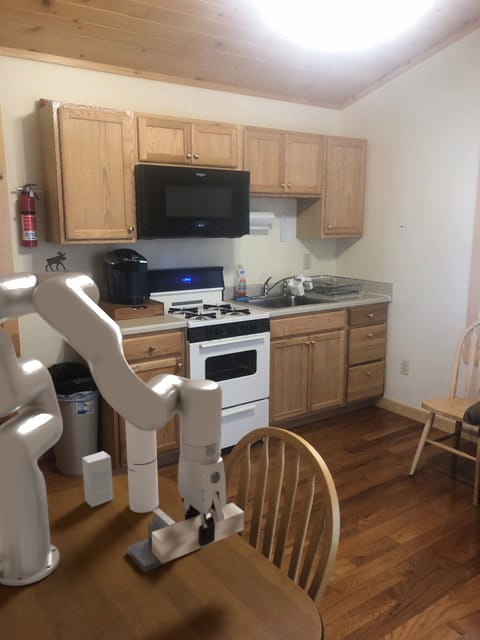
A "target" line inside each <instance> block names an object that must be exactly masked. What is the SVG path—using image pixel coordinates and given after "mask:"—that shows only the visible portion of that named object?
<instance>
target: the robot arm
mask: <svg viewBox="0 0 480 640" xmlns="http://www.w3.org/2000/svg"><path fill="white" fill-rule="evenodd" d="M99 301H100V291H99V288H98V286H97V284H96V283H95V281H94V280H93V279H92V278H90V277H89V276H87V275H86V274H83V273H80V272H58V271H57V272H55V271H54V272H53V271H50V272H49V271H19V272H13V273H7V274H0V419H1V418H4V417H5V418H6V417H7V416H11V415H12V414H13V413H14V414H15V413H16V412H17V413H18V414H17V415H14V416H13V417H11V418H10V419H8V420H7V421H5V422H3V423H2V424H1V425H0V584H2V585H6V586H10V587H12V586H13V587H17V586H26V585H30V584H34V583H35V582H39V581H41V580H42V579H43V578H46V577H47V576H49V575H50V574H51V573H52V572H53V571H55V570H56V568H57V567H58V565H59V563H60V551H59V550H58V548H57V547H56V546H54V545H53V544H51V535H50V534H51V533H50V522H49V510H48V498H47V487H46V486H47V485H46V480H45V476H44V475H43V472H42V471H41V470H40V468H39V466H38V460H39V458H40V457H41V456H43V454H44V453H46V452H47V451H48V450H49V449H51V448H52V447H53V446H55V444H56V443H57V442H58V441H59V440H60V438H61V437H62V434H63V431H64V430H63V429H64V424H63V423H64V421H63V417H62V413H61V409H60V405H59V401H58V397H57V393H56V390H55V385H54V382H53V379H52V376H51V373H50V371H49V370H48V368H47V367H46V366H45V364H44V363H42V361H40V360H39V359H37V358H36V357H35V358H34V357H31V356H20V357H17V354H16V349H15V346H14V343H13V340H12V338H11V336H10V335H9V334H8V332H7V331H6V329H4V328H3V327H2V326H1V325H2V324H3V323H5V322H7V321H10V320H13V319H18V318H21V317H23V316H26V315H31V314H37V315H38V316H39V317H41V319H42V320H43V321H45V323H47V324H48V326H49V327H51V329H53V330H54V331H55V332H56V333H57V334H58V335H59V336H60V337H61V338H63V340H64V341H65V342H67V343H68V344H69V345H70V346H71V348H73V349H74V351H76V353H78V354H79V355H80V356H81V357H82V358H83V359H84V360H85V361H86V363H87V364H88V367H89V370H90V374H91V376H92V379H93V380H94V383H95V384H96V387H97V390H98V391H99V393H100V394H101V396H102V397H103V399H104V400H105V401H106V402H107V404H108V405H109V406H110V407H111V408H113V410H114V411H116V413H117V414H119V415H120V416H121V417H122V418H123V419H124V420H127V421H128V422H129V423H130V424H132V425H133V426H135V427H136V428H138V429H141V430H144V431H155V430H156V431H157V430H160V429H161V428H163V427H164V426H165V425H166V424H168V422H169V420H171V419H172V417H173V416H175V415H179V458H178V469H177V470H178V471H177V491H178V494H179V496H180V497H181V501H182V503H183V508H182V510H183V512H184V513H185V514H184V520H187V519H190V518H192V517H195V516H197V515H200V518H201V526H199V545H200V546H201V547H202V546H204V545H206V544H209V543H211V542H213V541H214V540H215V524H216V523H217V522H220V521H223V520H224V515H223V511H222V508H225V506H226V505H227V488H226V482H227V481H226V471H225V466H224V461H223V458H222V457H221V455H222V411H223V410H222V409H223V406H222V405H223V391H222V390H223V389H222V387H221V385H220V384H219V383H217V382H216V381H213V380H211V379H199V378H198V379H191V378H190V379H189V378H186V377H182V376H179V375H175V374H172V373H160V374H158V375H155V376H154V377H152V378H151V379H150V380H149V381H148V382H147V383H146V382H145V381H143V380H142V379H141V378H140V377H139V376H138V374H136V372H135V371H134V370H133V368H131V366H130V365H129V363H128V361H127V359H126V357H125V354H124V350H123V349H124V348H123V334H124V333H123V330H122V328H121V326H120V325H118V324H117V323H116V322H115V320H113V319H112V318H111V317H110V316H109V315H108V314H107V313H106V312H105V311H104V310H103V309H102V308H100V306H98V304H99ZM208 513H210V515H211V517H209V518H208V519H206V515H208ZM211 544H212V543H211ZM209 545H210V544H209ZM206 546H207V545H206ZM204 547H205V546H204ZM202 548H203V547H202Z"/></svg>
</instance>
